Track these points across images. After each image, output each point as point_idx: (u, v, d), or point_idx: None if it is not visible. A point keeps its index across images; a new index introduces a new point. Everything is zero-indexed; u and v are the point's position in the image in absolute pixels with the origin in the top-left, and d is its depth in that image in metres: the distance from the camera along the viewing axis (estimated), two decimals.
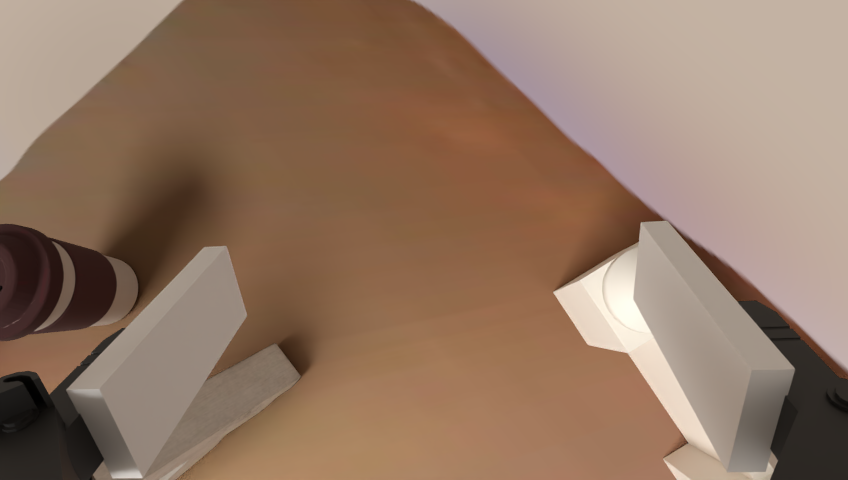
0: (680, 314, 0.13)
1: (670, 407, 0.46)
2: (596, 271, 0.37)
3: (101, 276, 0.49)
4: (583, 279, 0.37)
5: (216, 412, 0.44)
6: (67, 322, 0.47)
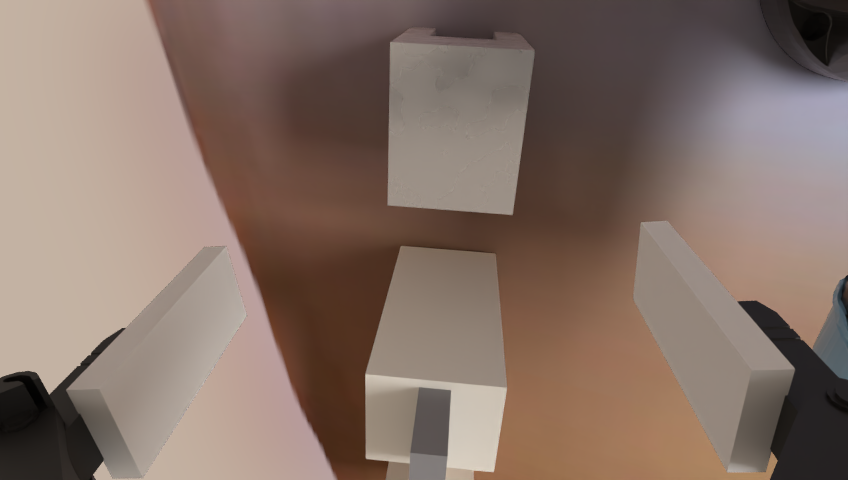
0: (680, 314, 0.13)
1: None
2: None
3: None
4: None
5: None
6: None
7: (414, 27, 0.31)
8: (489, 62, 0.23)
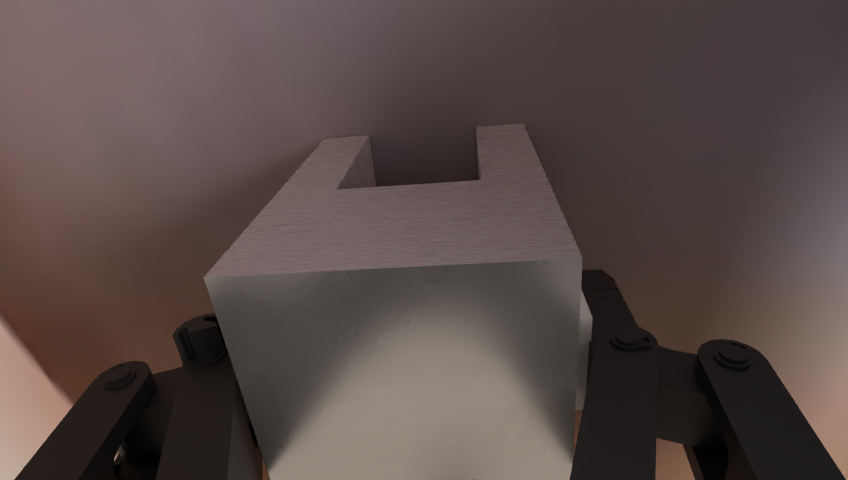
0: None
1: None
2: None
3: None
4: None
5: None
6: None
7: (329, 139, 0.17)
8: (464, 294, 0.09)
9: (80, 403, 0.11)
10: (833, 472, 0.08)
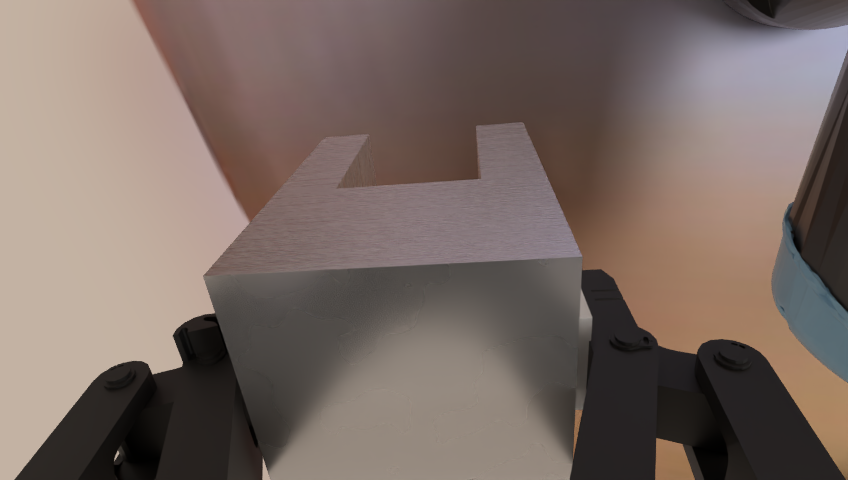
0: None
1: None
2: None
3: None
4: None
5: None
6: None
7: (329, 138, 0.17)
8: (464, 292, 0.09)
9: (80, 403, 0.11)
10: (833, 472, 0.08)
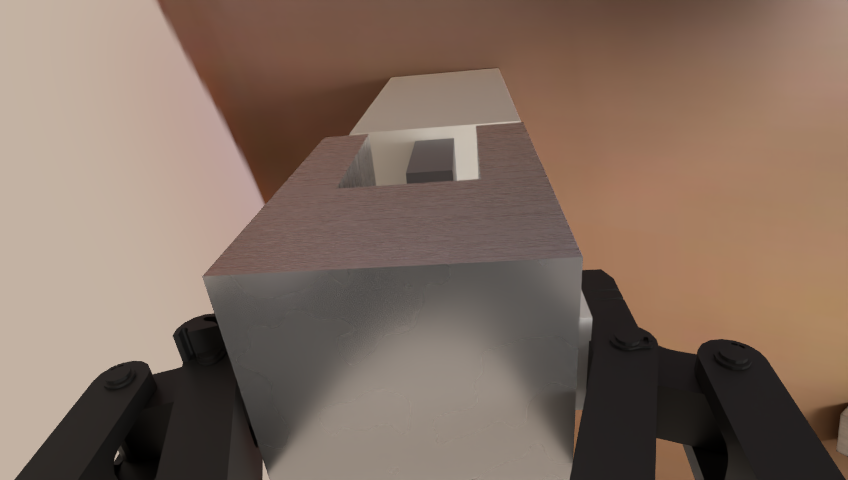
0: None
1: None
2: None
3: None
4: None
5: None
6: None
7: (328, 138, 0.17)
8: (464, 293, 0.09)
9: (80, 403, 0.11)
10: (833, 472, 0.08)
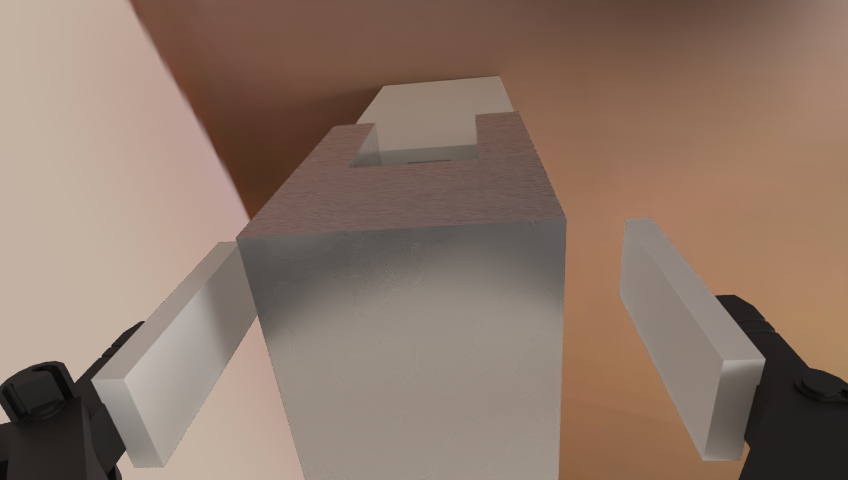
0: (660, 308, 0.13)
1: None
2: None
3: None
4: None
5: None
6: None
7: (338, 126, 0.18)
8: (464, 251, 0.10)
9: None
10: None
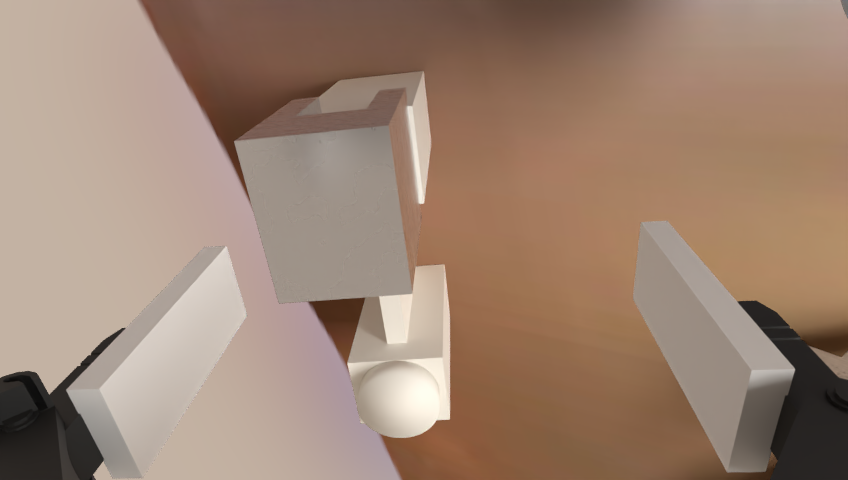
0: (680, 314, 0.13)
1: None
2: None
3: None
4: (446, 418, 0.40)
5: None
6: None
7: (295, 99, 0.29)
8: (343, 144, 0.21)
9: None
10: None
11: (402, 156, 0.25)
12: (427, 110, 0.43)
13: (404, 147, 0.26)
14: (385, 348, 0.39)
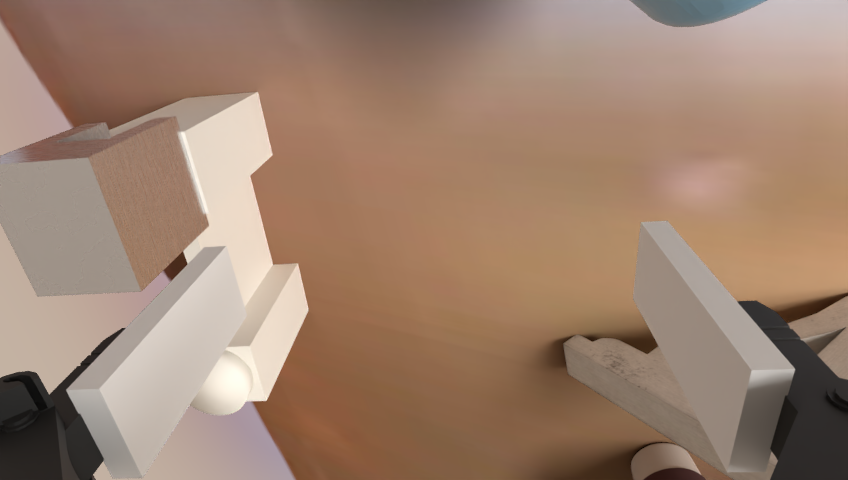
0: (680, 314, 0.13)
1: (246, 204, 0.50)
2: (251, 400, 0.45)
3: None
4: (263, 399, 0.45)
5: (633, 394, 0.49)
6: None
7: (85, 124, 0.34)
8: (57, 171, 0.26)
9: None
10: None
11: (139, 178, 0.30)
12: (263, 126, 0.48)
13: (151, 169, 0.31)
14: None
